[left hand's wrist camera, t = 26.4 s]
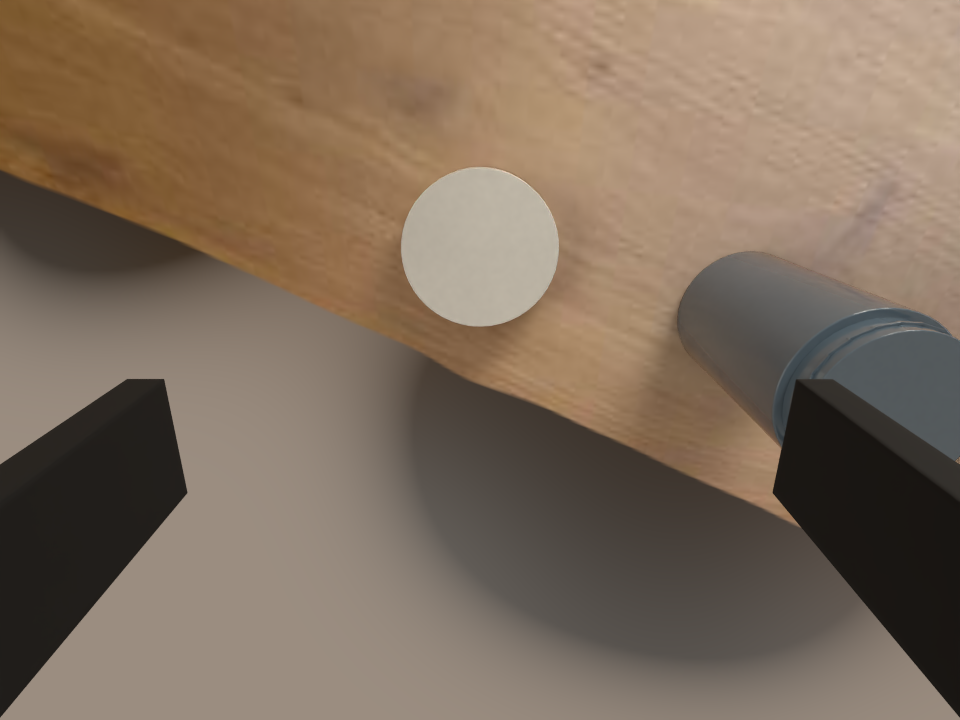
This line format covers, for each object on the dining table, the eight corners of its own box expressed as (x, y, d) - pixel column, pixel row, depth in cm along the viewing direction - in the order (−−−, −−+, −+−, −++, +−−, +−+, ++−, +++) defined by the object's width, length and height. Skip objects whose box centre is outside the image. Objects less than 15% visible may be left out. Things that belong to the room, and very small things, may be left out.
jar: (652, 310, 38) (754, 411, 24) (759, 223, 36) (940, 276, 22) (723, 396, 40) (856, 534, 26) (829, 318, 38) (1035, 422, 24)
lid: (583, 216, 36) (589, 220, 34) (507, 342, 39) (508, 352, 37) (449, 136, 34) (447, 136, 33) (379, 274, 37) (374, 281, 35)
